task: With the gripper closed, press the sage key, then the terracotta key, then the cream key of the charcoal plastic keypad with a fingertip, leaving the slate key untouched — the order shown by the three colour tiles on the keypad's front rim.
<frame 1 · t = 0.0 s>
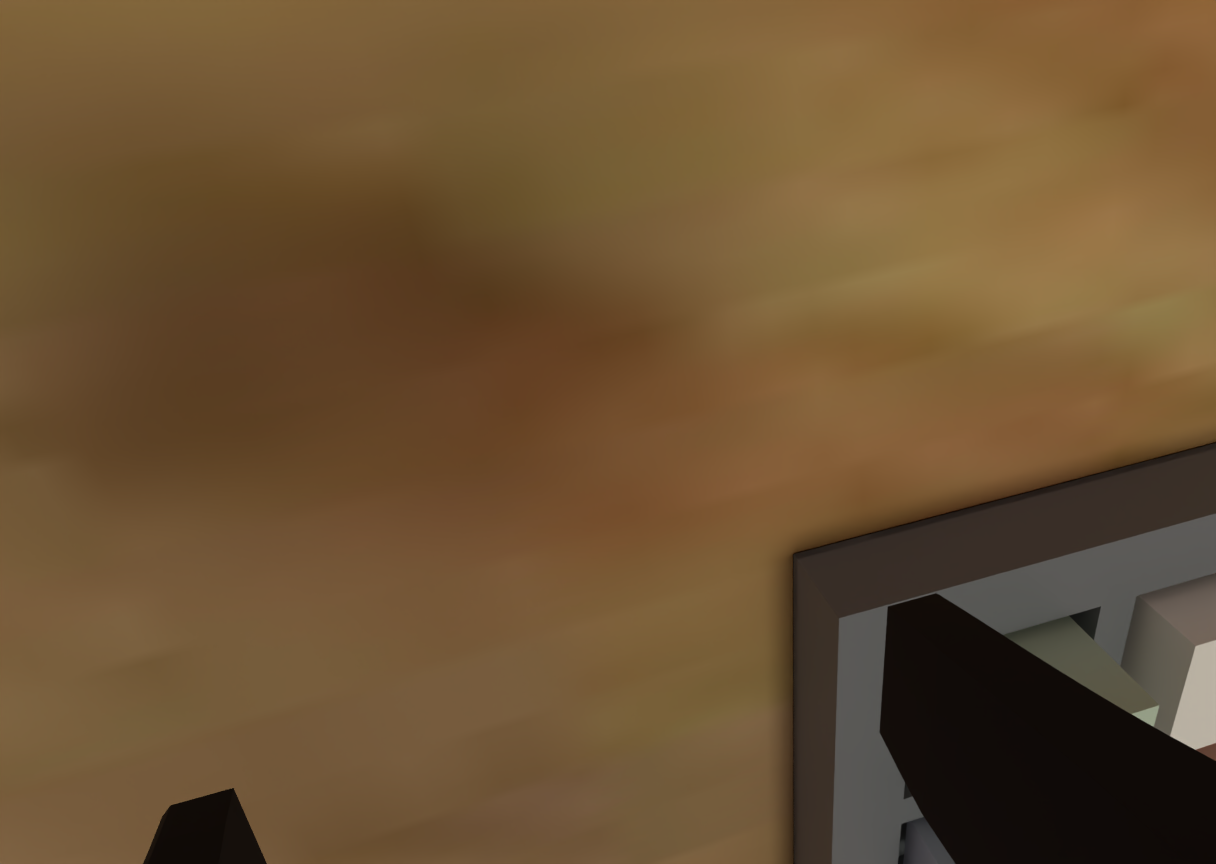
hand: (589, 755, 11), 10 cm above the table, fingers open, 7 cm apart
key sage: (1025, 738, 25), point 4 cm above the table, slide at 0.0 cm
key terracotta: (1171, 807, 29), point 3 cm above the table, slide at 0.0 cm
keypad bezel: (1030, 691, 30), on the table
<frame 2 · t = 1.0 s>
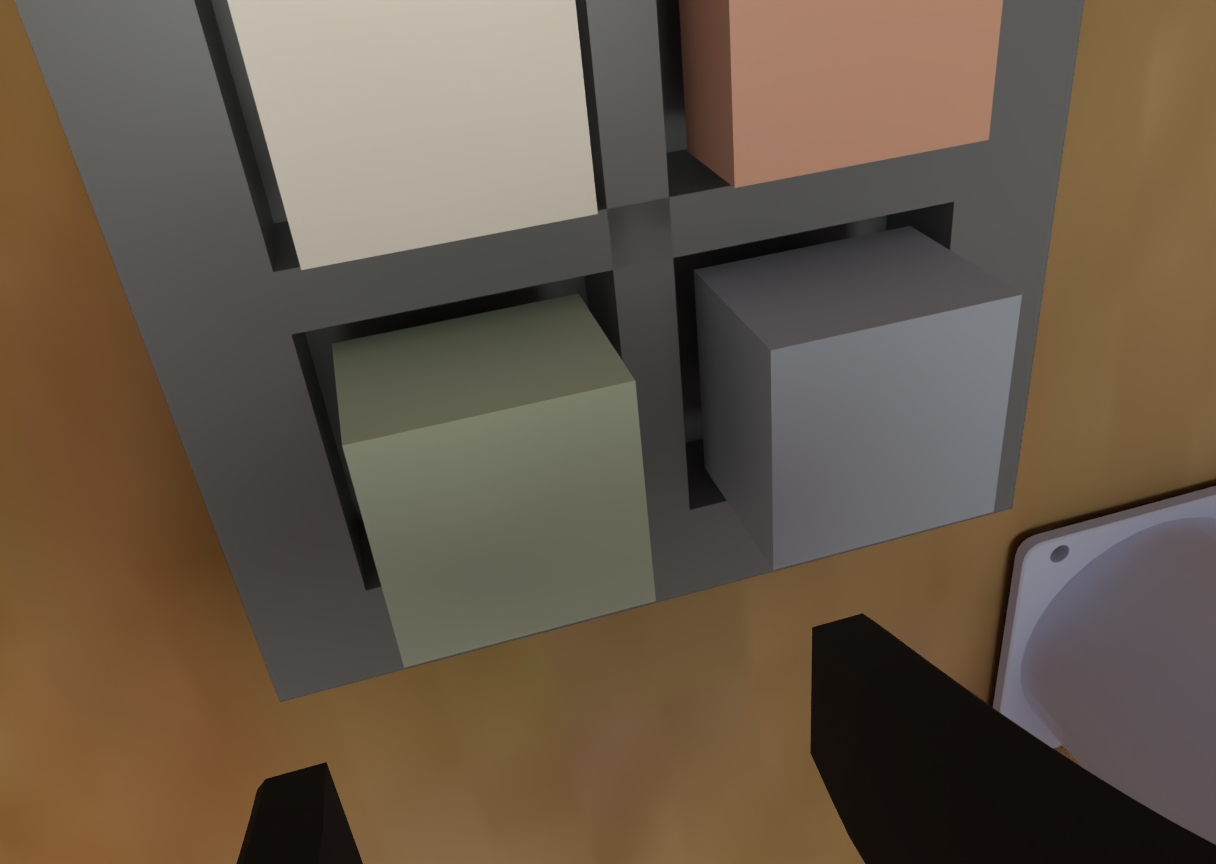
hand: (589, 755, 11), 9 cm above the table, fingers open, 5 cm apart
key sage: (494, 473, 16), point 3 cm above the table, slide at 0.0 cm
key terracotta: (836, 5, 14), point 3 cm above the table, slide at 0.0 cm
key cream: (415, 71, 13), point 3 cm above the table, slide at 0.0 cm
key slate: (844, 391, 17), point 4 cm above the table, slide at 0.0 cm
keypad bezel: (600, 189, 18), on the table
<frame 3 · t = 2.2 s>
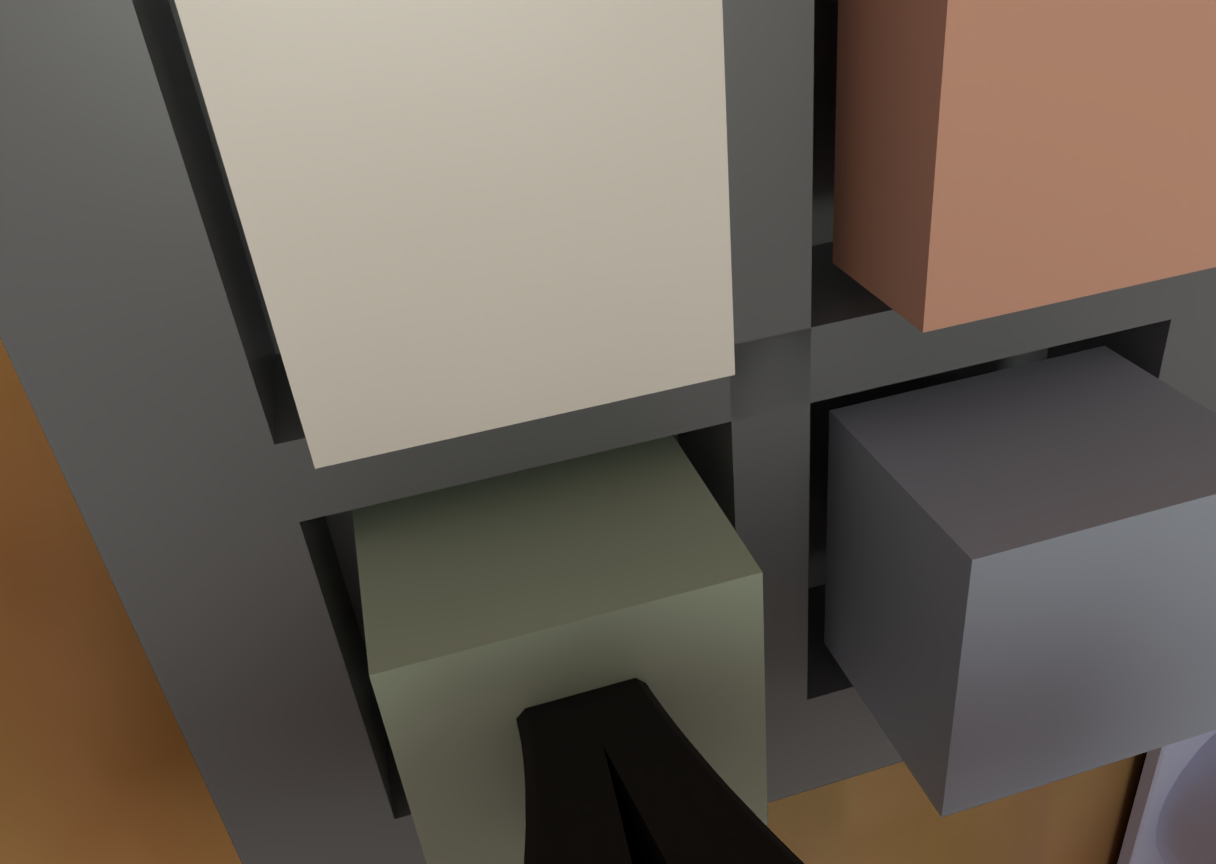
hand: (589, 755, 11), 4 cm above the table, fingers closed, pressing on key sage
key sage: (560, 660, 12), point 3 cm above the table, slide at 0.6 cm, touching gripper
key terracotta: (1062, 75, 10), point 3 cm above the table, slide at 0.0 cm
key cream: (480, 179, 9), point 3 cm above the table, slide at 0.0 cm
key slate: (1027, 569, 13), point 4 cm above the table, slide at 0.0 cm
keypad bezel: (699, 297, 14), on the table
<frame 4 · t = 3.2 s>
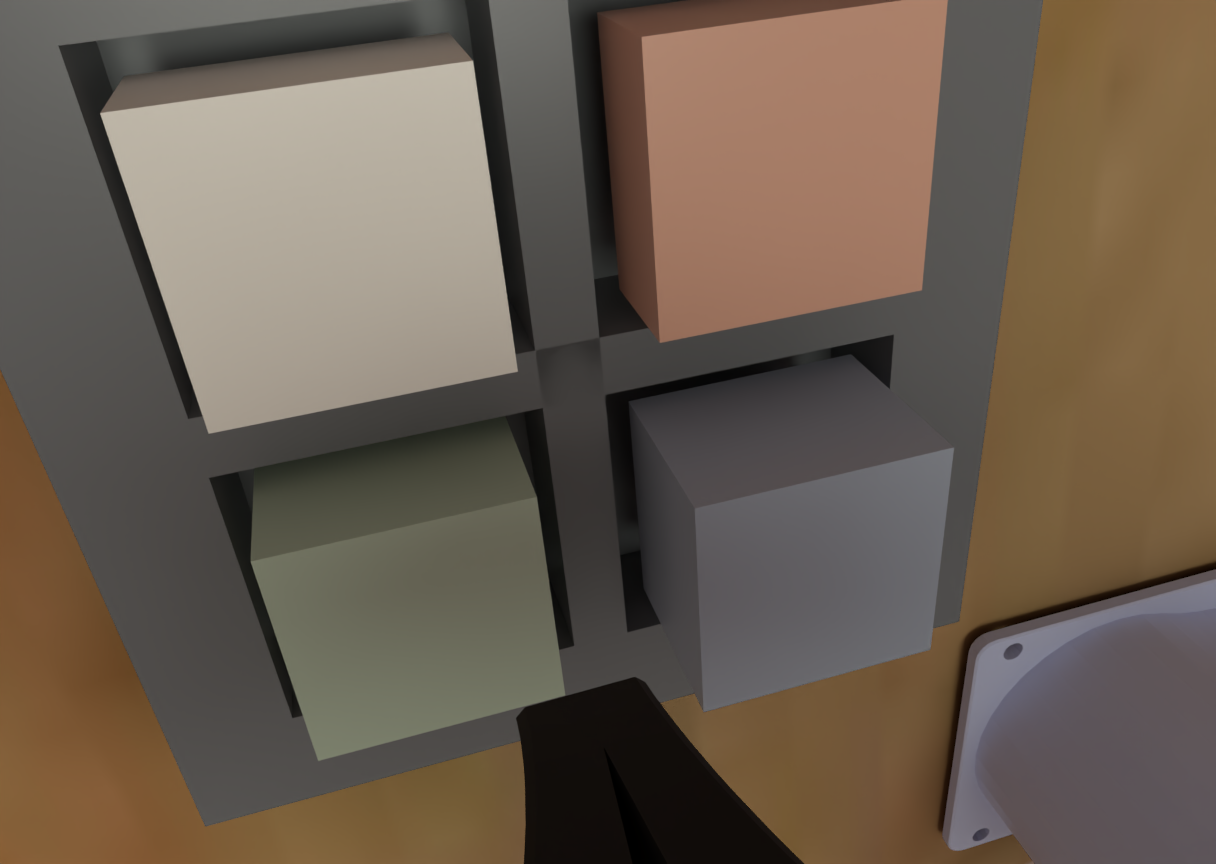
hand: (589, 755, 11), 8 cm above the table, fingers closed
key sage: (411, 570, 17), point 2 cm above the table, slide at 1.1 cm
key terracotta: (766, 157, 14), point 3 cm above the table, slide at 0.0 cm
key cream: (330, 230, 13), point 3 cm above the table, slide at 0.0 cm
key slate: (780, 526, 17), point 3 cm above the table, slide at 0.0 cm
keypad bezel: (537, 312, 18), on the table
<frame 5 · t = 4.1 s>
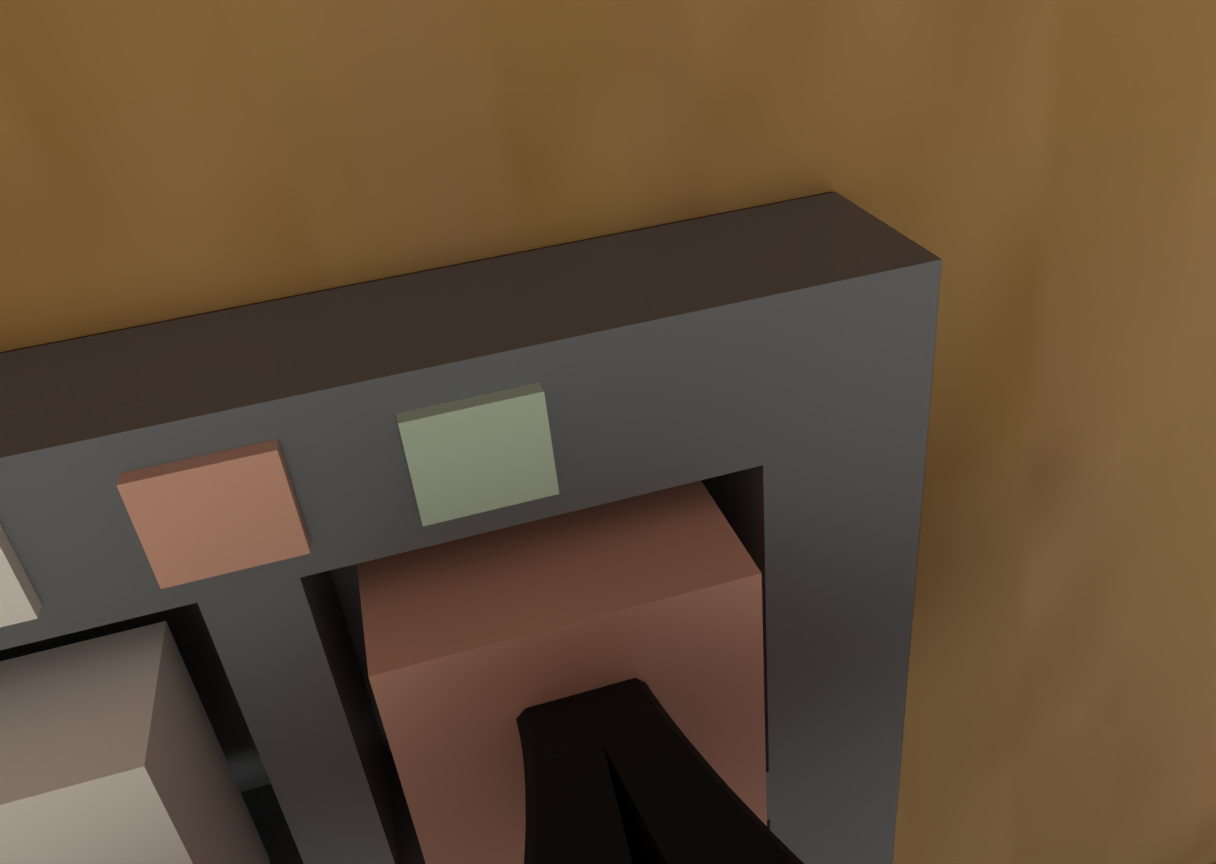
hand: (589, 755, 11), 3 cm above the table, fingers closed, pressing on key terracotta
key terracotta: (571, 695, 12), point 3 cm above the table, slide at 0.4 cm, touching gripper
keypad bezel: (358, 774, 15), on the table
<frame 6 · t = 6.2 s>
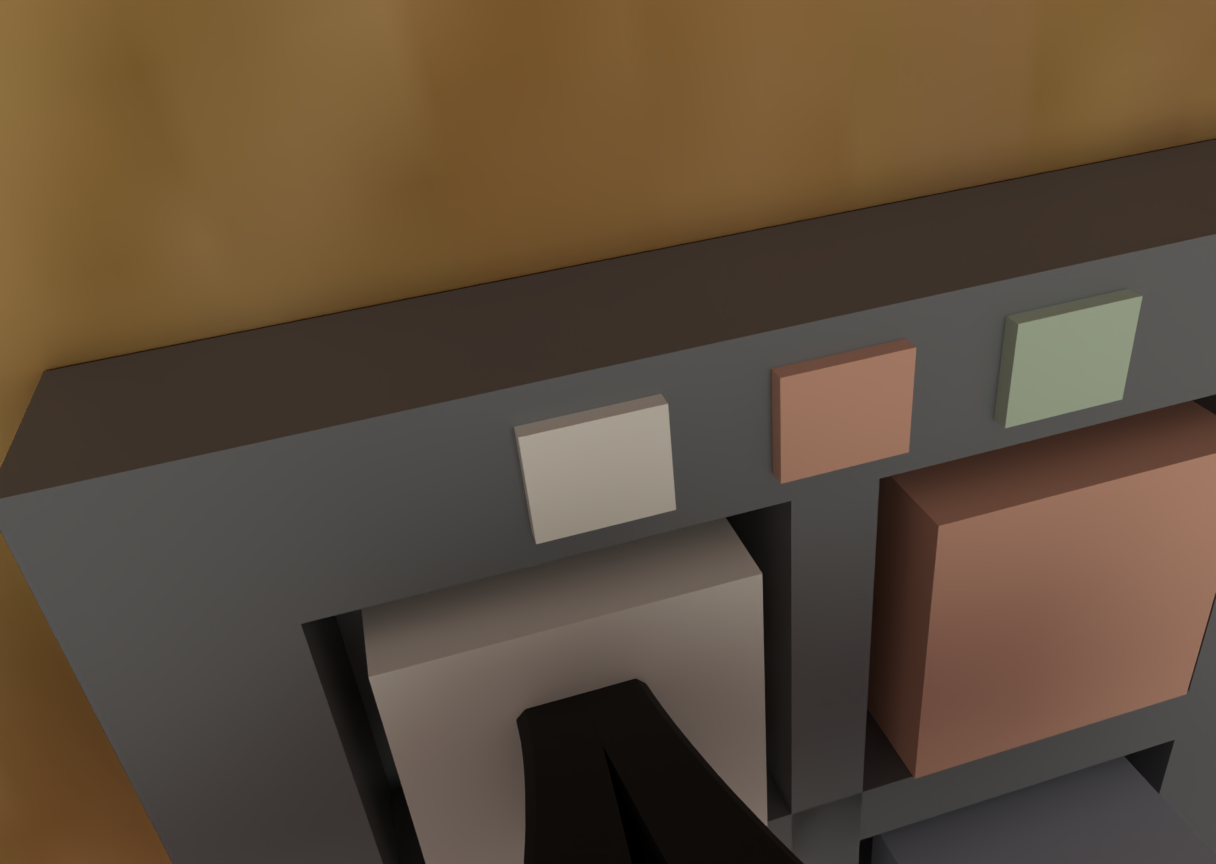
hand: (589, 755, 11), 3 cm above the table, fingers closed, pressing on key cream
key terracotta: (1025, 569, 13), point 2 cm above the table, slide at 1.1 cm
key cream: (571, 696, 12), point 2 cm above the table, slide at 1.1 cm, touching gripper
keypad bezel: (756, 699, 15), on the table
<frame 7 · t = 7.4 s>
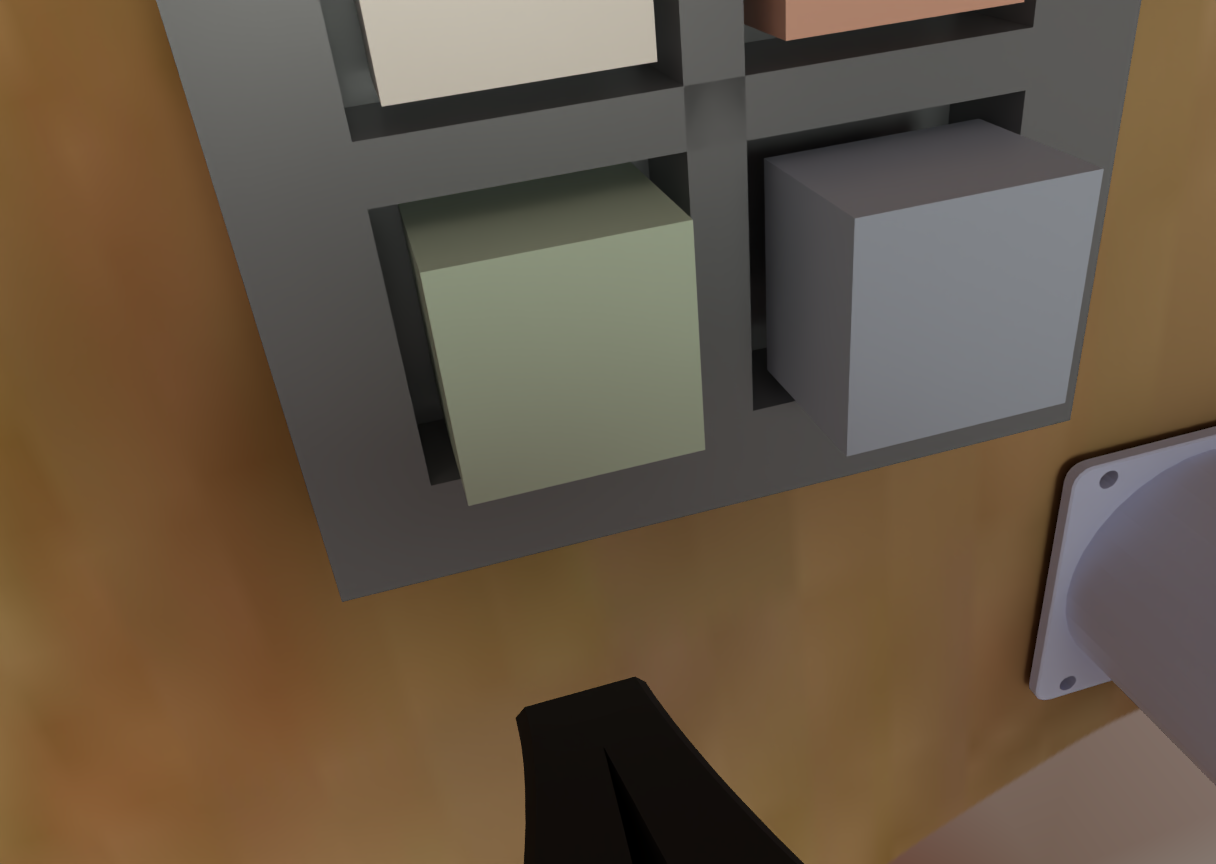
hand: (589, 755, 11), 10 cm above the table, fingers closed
key sage: (552, 327, 17), point 2 cm above the table, slide at 1.1 cm
key slate: (915, 281, 17), point 3 cm above the table, slide at 0.0 cm
keypad bezel: (666, 83, 18), on the table
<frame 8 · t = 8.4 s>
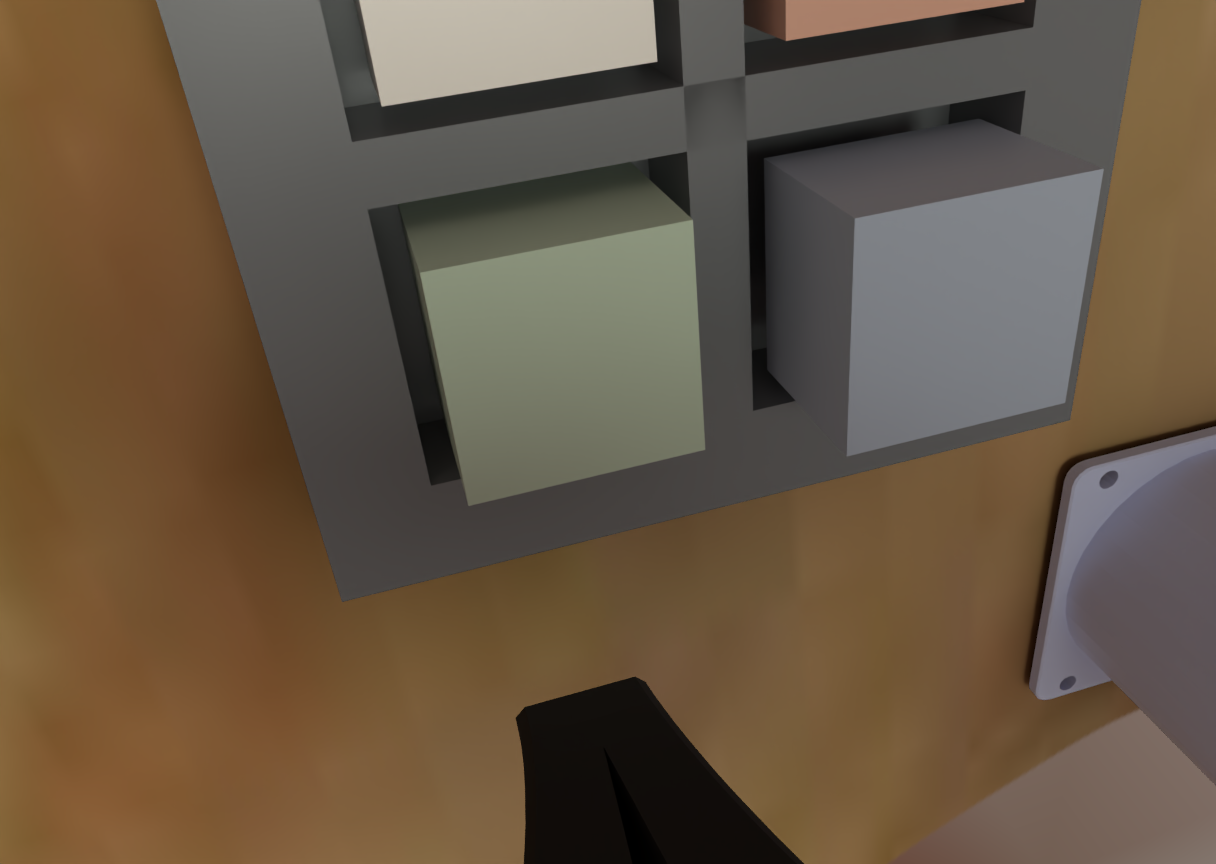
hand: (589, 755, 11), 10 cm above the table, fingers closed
key sage: (552, 327, 17), point 2 cm above the table, slide at 1.1 cm
key slate: (915, 281, 17), point 3 cm above the table, slide at 0.0 cm
keypad bezel: (666, 83, 18), on the table
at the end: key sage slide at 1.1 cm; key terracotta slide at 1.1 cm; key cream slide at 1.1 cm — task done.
